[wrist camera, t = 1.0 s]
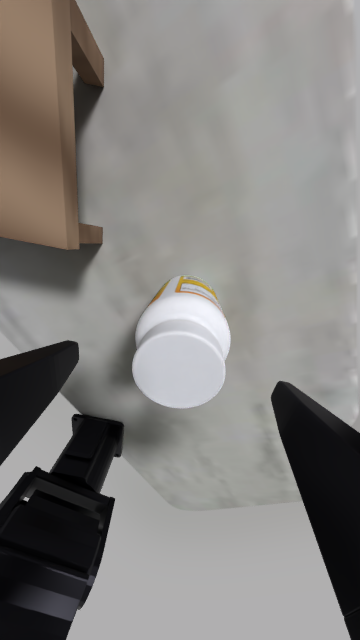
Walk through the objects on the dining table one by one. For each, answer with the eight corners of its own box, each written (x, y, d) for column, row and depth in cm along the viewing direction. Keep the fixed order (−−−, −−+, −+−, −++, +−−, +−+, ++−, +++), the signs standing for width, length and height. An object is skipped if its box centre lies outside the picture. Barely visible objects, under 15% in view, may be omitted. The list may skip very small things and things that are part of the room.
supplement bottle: (169, 337, 18) (144, 429, 9) (148, 285, 16) (90, 336, 7) (223, 322, 17) (255, 409, 8) (207, 265, 15) (226, 296, 6)
